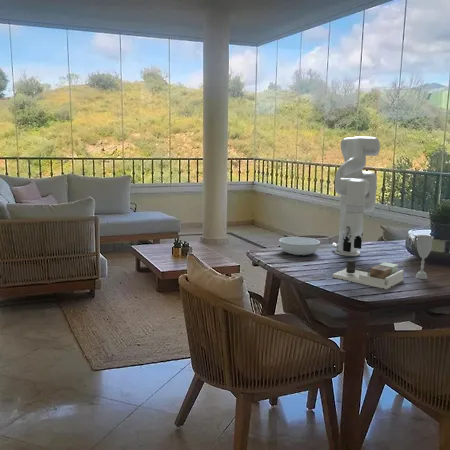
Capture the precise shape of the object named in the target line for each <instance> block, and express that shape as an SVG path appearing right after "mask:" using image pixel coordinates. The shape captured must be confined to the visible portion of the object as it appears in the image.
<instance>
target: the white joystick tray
mask: <svg viewBox="0 0 450 450" xmlns="http://www.w3.org/2000/svg"><path fill="white" fill-rule="evenodd" d="M378 266H382V267H387V268H391V271H390V276H388V277H386V278H385V279H380V278H375V277H370V273H368V272H363V271H359V270H355V273H347V272H346V268H343V269H342V270H339V271H336V272H335V273H332V278H333V277H334V278H335V279H339V280H342V279H343V280H344V281H347V280H348V281H347V282H351V281H352V283H357V284H362V285H366V286H370V287H375V288H380V289H383V288H384V290H388V289H390V288H392V287H393V286H395V285H397V284H400V283H402V282H403V281H404V273H405V272H404V271H405V270H404V269H400V270H399V264H397V263H392V262H386V261H384V262H381V263H380V264H378ZM391 286H392V287H391Z"/></svg>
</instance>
